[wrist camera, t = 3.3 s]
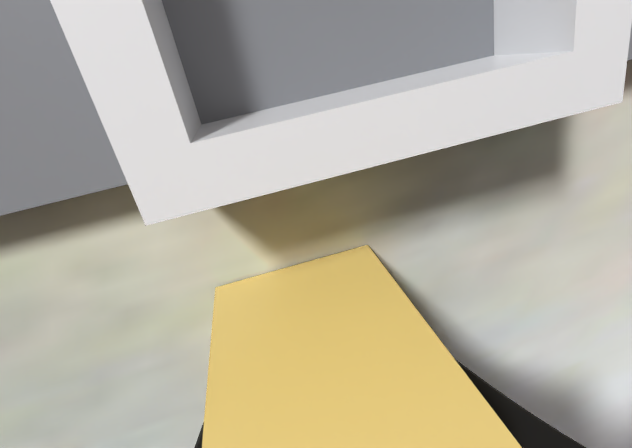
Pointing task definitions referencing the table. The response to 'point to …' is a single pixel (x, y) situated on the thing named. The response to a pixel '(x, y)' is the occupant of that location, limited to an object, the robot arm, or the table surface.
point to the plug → (336, 365)
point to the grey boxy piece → (279, 89)
